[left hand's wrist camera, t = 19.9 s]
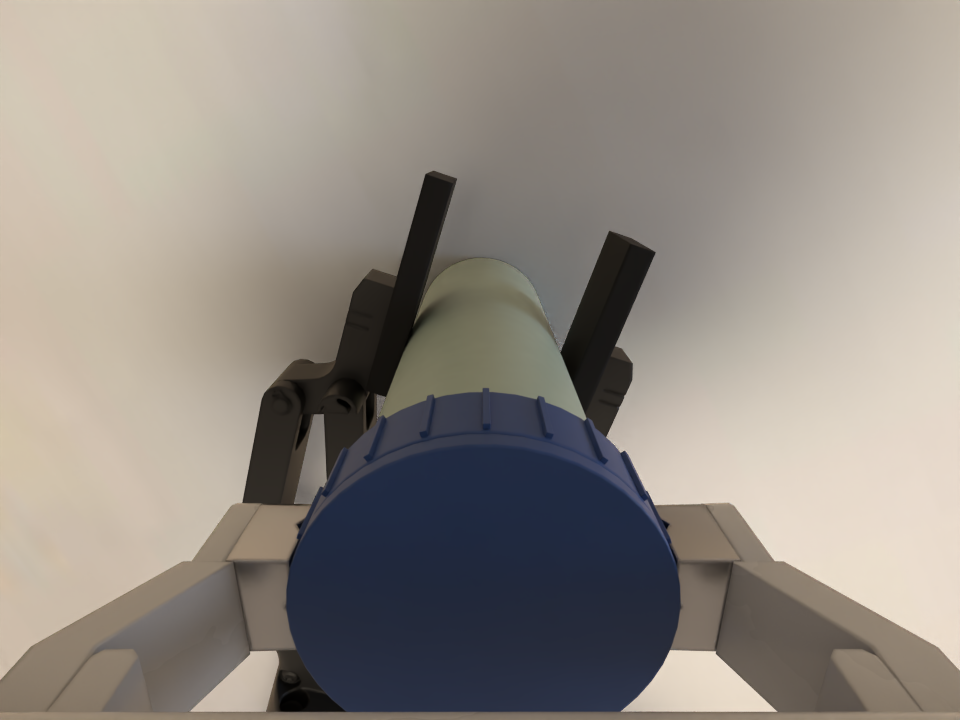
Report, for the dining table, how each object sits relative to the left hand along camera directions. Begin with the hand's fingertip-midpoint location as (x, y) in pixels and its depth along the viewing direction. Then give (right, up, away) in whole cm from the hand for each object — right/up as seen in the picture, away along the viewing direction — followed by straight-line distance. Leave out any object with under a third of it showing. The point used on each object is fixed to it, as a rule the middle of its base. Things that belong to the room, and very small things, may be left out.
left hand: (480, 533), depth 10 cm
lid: (0, -1, -2) cm, 2 cm away
